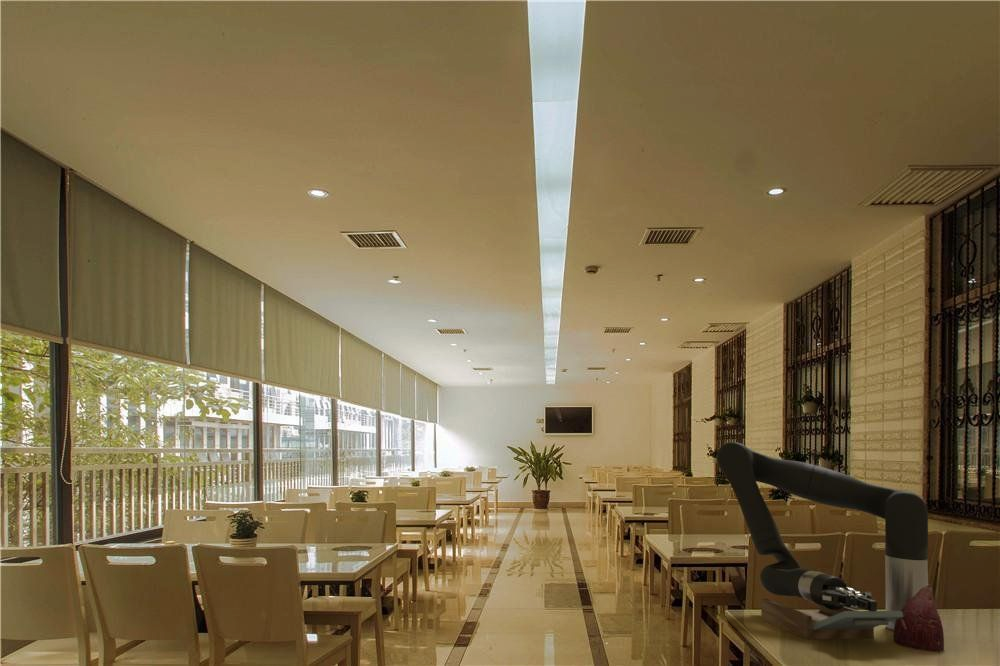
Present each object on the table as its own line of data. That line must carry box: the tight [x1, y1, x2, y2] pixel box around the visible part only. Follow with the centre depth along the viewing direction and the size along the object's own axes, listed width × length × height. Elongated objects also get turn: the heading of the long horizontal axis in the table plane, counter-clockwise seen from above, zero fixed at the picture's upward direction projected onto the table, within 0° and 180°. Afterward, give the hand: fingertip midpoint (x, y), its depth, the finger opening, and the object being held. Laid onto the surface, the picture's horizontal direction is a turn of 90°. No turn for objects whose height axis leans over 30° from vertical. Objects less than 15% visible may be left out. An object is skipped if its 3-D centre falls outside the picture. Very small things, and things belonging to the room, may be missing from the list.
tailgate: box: [812, 610, 904, 630], centre depth 172 cm, size 14×2×12 cm
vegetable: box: [892, 583, 945, 652], centre depth 177 cm, size 10×10×15 cm
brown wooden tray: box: [760, 598, 875, 640], centre depth 186 cm, size 18×18×5 cm
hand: (874, 606), depth 168 cm, fingers closed
